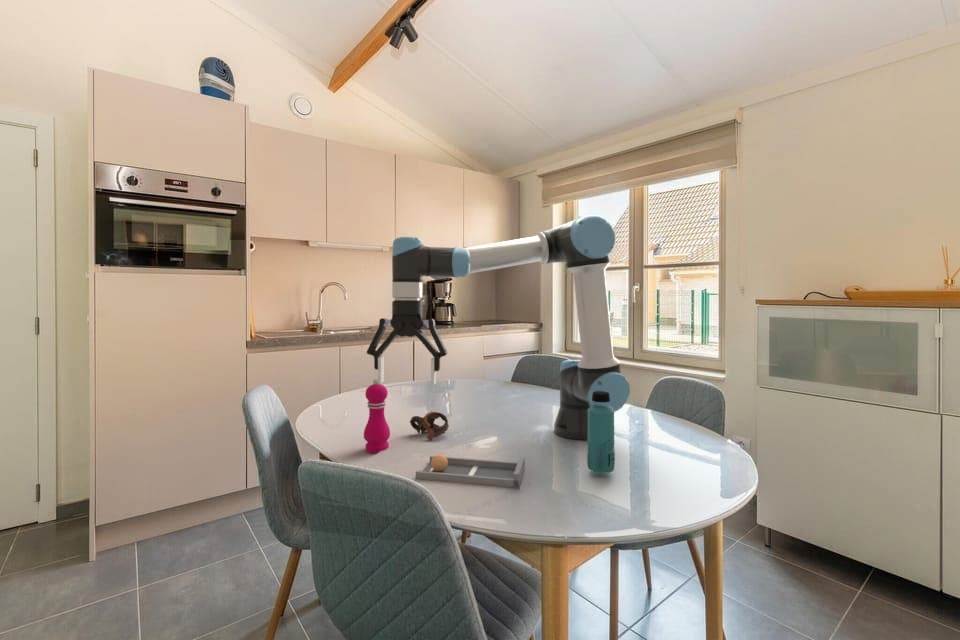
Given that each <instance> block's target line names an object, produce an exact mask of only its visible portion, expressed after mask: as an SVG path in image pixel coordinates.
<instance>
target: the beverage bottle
mask: <svg viewBox="0 0 960 640" xmlns="http://www.w3.org/2000/svg"><path fill="white" fill-rule="evenodd" d="M592 401H595V402H603V403H604V402H610V396H609V393H608V392H605V391H594V392H593V395H592ZM615 433H616V432H615V412H614V410H613V409H612V408H611V407H610V406H608V405H603V404H595V405H592V406H591V407H590V408H589V409H588V436H587V439H586V443H587V444H586V461H587V462H586V465H587V468H588V469H589V471H591V472H594V473H597V474H598V473H599V474H608V473H609V474H610V473H612V472H614V469H615V464H616V463H615V460H616V458H615V457H616V455H615Z"/></svg>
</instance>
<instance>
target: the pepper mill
mask: <svg viewBox="0 0 960 640" xmlns="http://www.w3.org/2000/svg"><path fill="white" fill-rule="evenodd" d="M372 382H373V384H370V385H369V386H368V387H366V390H365V394H364V395H365V399H367V401H368V402H367V408H368V410H369V414H368V421H367V422H366V425H365V427H364V430H363V431H364V432H363V439H364V440H365V441H366V444H365V452H367V453H369V454H379V453H380V452H383V451H386V450H388V449H389V441H388V440H389V438H390V436H391V430H390V426H389V424H388V423H387V420H386V418H385V407H386V405H387V404H386V399H387V397H388V389H387V387H386V386H385V385H383V384H382V383H378V378H374V379H373V381H372Z"/></svg>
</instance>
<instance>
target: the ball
mask: <svg viewBox="0 0 960 640" xmlns="http://www.w3.org/2000/svg"><path fill="white" fill-rule="evenodd" d="M433 456H434V457H433V458H432V460H431V466H432V468H433V469H434V470H435V471H443V470H444V469H445V468H446V467H447V464H448V461H447V458H446V457H447V456H445V455H444V454H441V453H438V454H435V455H433Z"/></svg>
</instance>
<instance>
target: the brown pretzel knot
mask: <svg viewBox="0 0 960 640" xmlns="http://www.w3.org/2000/svg"><path fill="white" fill-rule="evenodd" d="M439 418H441V419H442V420H441V421H444V423H443V424H442V425H441V426H440V425H439V424H436V423H435V421H436V419H439ZM409 424H410V426H411V427H412V428H413V429H414V430H415V431H416V432H417V433H418V434H420V433H421V434H423V433H425V432H427V435H426V439H427V440H429V441H433V439H434V438H438V437H439V436H441V435H444V434H445V433H446V432H447V431H448V428H449V427H450V425H449V419H448V418H447V416H446V415H445V414H444V413H441V412H438V411H430V412H427V413H425V415H424V416H423V417H421V416H419V415H414V416H412V417H411V419H410V421H409Z"/></svg>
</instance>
